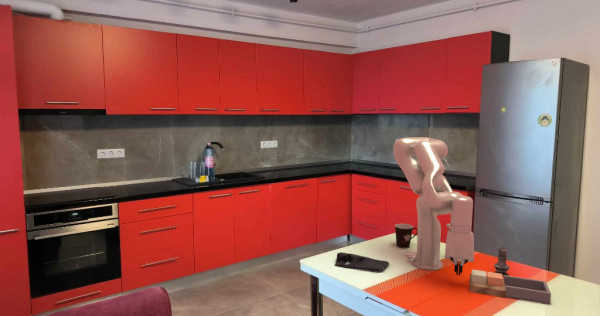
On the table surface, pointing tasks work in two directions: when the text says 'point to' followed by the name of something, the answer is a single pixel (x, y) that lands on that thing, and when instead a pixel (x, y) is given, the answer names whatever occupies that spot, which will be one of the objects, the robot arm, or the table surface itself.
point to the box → (527, 289)
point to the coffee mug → (404, 235)
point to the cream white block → (478, 276)
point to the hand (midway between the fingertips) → (458, 274)
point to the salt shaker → (502, 262)
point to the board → (488, 288)
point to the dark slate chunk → (360, 262)
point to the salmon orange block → (494, 279)
